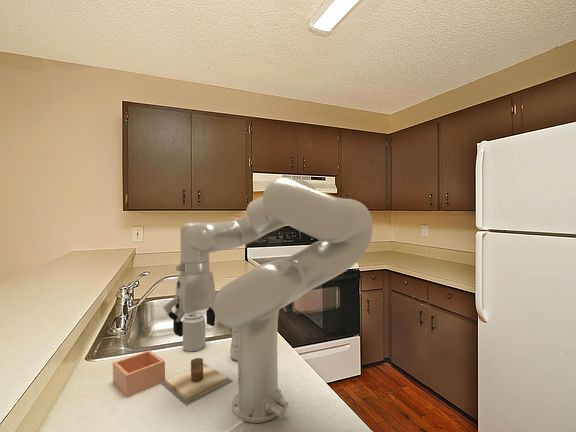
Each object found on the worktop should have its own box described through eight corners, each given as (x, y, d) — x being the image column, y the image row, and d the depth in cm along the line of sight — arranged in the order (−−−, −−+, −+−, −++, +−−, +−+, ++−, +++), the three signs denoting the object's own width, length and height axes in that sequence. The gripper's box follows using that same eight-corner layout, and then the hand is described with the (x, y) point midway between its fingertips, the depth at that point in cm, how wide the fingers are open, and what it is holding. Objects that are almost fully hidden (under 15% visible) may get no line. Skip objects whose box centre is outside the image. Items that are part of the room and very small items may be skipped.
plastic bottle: (240, 352, 102) (239, 293, 102) (255, 357, 98) (254, 296, 98) (225, 360, 97) (225, 297, 96) (241, 366, 93) (240, 301, 92)
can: (197, 342, 110) (196, 309, 110) (209, 347, 106) (209, 313, 105) (178, 349, 104) (178, 314, 104) (191, 355, 100) (190, 319, 100)
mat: (233, 383, 83) (233, 381, 83) (186, 407, 73) (186, 405, 73) (205, 365, 93) (205, 364, 93) (160, 385, 83) (160, 383, 83)
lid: (228, 381, 83) (228, 359, 83) (188, 401, 75) (187, 377, 74) (204, 366, 92) (204, 347, 91) (165, 383, 83) (165, 361, 83)
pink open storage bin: (165, 382, 84) (164, 361, 84) (126, 399, 77) (126, 375, 77) (149, 370, 91) (149, 350, 91) (113, 384, 84) (112, 362, 83)
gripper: (171, 274, 74) (171, 344, 74) (229, 265, 86) (229, 324, 87) (157, 270, 79) (157, 335, 79) (214, 262, 92) (214, 318, 92)
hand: (195, 329), depth 83 cm, fingers open, 9 cm apart
